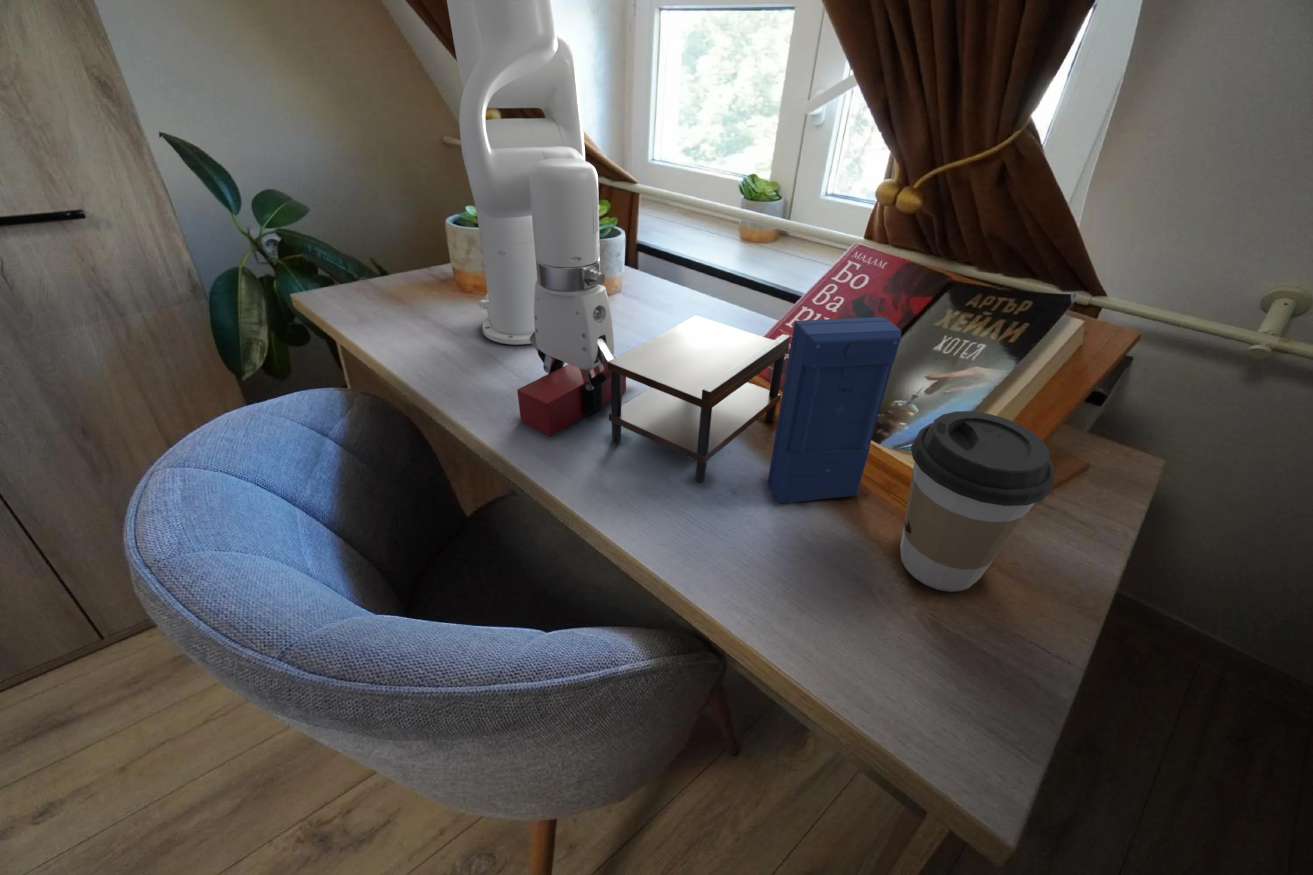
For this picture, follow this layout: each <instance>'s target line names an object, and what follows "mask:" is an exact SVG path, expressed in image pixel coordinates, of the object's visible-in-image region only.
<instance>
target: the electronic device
mask: <svg viewBox="0 0 1313 875" xmlns="http://www.w3.org/2000/svg"><path fill="white" fill-rule="evenodd" d="M901 338H902V330H901V329H900V328H898V327H897V326H896V325H895V324H894V323H893V322H891V321H890V320H889V319H888V318H886V317H885V316H874V317H851V318H828V319H827V318H826V319H805V320H804V319H803V320H801V319H800V320H795V321H794V324H793V330H792V336H791V340H790V342H791V343H790V346H789V352H788V353H789V354H788V359H787V366H786V371H785V377H784V383H783V390H782V394H781V399H780V407H779V413H778V418H777V422H776V423H777V425H776V430H775V434H774V435H775V436H774V440H773V441H774V442H773V448H772V454H771V459H770V464H769V471H768V477H767V484H768V487H769V488H770V490H771V492H772V494H773V496H774V498H775V500H776V501H777V502H781V503H794V502H803V501H805V502H807V501H815V500H826V499H828V500H829V499H836V498H838V499H839V498H847V497H848V498H849V497H857V495H858V492H859V490H860V486H861V483H862V482H861V481H862V479H863V475H864V472H865V469H866V464H867V461H868V457H869V454H870V449H871V442H872V440H873V439H872V438H873V436H874V432H875V428H876V425H877V421H878V417H879V414H880V410H881V407H882V404H883V400H884V396H885V393H886V389H887V385H888V382H889V379H890V375H891V371H892V368H893V365H894V364H895V361H896V357H897V354H898V351H899V347H900V343H901Z"/></svg>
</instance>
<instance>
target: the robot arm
mask: <svg viewBox="0 0 1313 875" xmlns="http://www.w3.org/2000/svg"><path fill="white" fill-rule="evenodd" d="M446 4H447V12H448V17H449V22H450V28H451V33H452V40H453V46H454V51H455V57H456V62H457V68H458V74H459V78H460V82H461V86H462V89H463V92H462V95H461V99H460V104H459V113H458V114H459V116H458V121H459V122H458V124H459V126H458V127H459V137H460V143H461V146H460V148H461V154H462V160H463V165H464V168H465V170H466V174H467V178H468V184H469V188H470V191H471V194H472V198H473V202H474V207H475V212H476V218H477V219H476V220H477V226H478V232H479V240H480V247H481V254H482V264H483V271H484V277H485V284H486V291H487V293H486V294H485V296H484V299H481V300H480V301H479V302H478V305H479V307H480V308H482V309H484V310H486V312H487V317H486V319H485V320H484V321H483V323H482V328H481V329H482V333H483V335H484V336H485V337H486V338H487V339H489V340H490V341H493V342H496V343H498V344H504V345H515V346H519V345H521V346H522V345H532V347H533V348H534V349H535V351H536V352H537V355H538V357H539V359H540V360H541V362H542V363H543V368H542V369H543V371H544V372H545V373H547V374H549V373H552V372H554V371H556V370H558V369H560V368H562V367H564V366H565V363H566V364H567V365H568V364H570V365H573V366H575V367H578V368H580V371H581V375H582V378H583V382H584V385H585V388H583V389H582V408H583V415H585V416H586V417H589V416H591V414H594V413H595V412H597V411H598V410H600V409H602V406H603V405H602V384H604V383H605V382H606V381H607V380H608V379H610V378H611V371H610V370H608V362H609V361H610V360H612V359H614V355H615V342H614V341H615V340H614V339H615V338H614V327H613V319H612V318H613V317H612V310H611V305H610V300H609V296H608V292H607V288H606V286H604V285H603V284H604V283H605V280H606V276H605V274H604V273H602V272H601V255H600V254H601V253H600V246H601V245H600V207H599V206H600V203H599V202H600V200H599V177H598V172H597V169H596V168H595V166H594V165H593V164H591V163H590V162H589V161H586V149H585V136H584V130H583V128H584V127H583V119H582V110H581V101H580V90H579V82H578V80H579V79H578V74H577V67H576V62H575V58H574V54H573V51H572V48H571V46H570V44H569V43H568V41H567V40H566V38H565V37H564V36H563V35H562V34H561V33H559V32H558V31H557V30H556V27H555V26H556V25H555V20H554V15H553V14H554V13H553V7H552V3H551V0H446ZM488 109H540V110H541V111H542V112H543V114H544V117H541V118H540V117H537V118H533V117H532V118H523V117H518V118H517V117H515V118H514V117H513V118H490V119H487V118H486V117H487V110H488ZM601 363H602V364H601ZM602 365H603V367H604V370H603V368H602ZM592 369H593V370H594V373H595V376H594V377H593V378H592V376H591V373H590V370H592ZM585 416H584V417H585Z"/></svg>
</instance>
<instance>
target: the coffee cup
mask: <svg viewBox="0 0 1313 875" xmlns="http://www.w3.org/2000/svg"><path fill="white" fill-rule="evenodd" d="M910 450H911V455H912V460H913V462H914V463H913V468H912V473H911V480H910V486H909V490H908V491H909V492H908V498H907V502H906V503H907V504H906V510H905V517H904V522H903V526H902V532H901V539H900V546H899V547H900V548H899V549H900V558H901V564H902V565H903V566H904V569H905V570H906V571H907V572H908V574H910V575H911V576H912V578H914V579H916V580H917V581H918V582H920V583H922V584H923V585H925V586H927V587H930V588H933V589H935V590H938V591H944V592H949V593H951V592H952V593H953V592H962V591H965V590H967V589H970V588H971V587H972V586H974V584H976V583H977V582H978V581H979V580H980V579H981V578H982V576H983V575H984V574H985V572H986V571H987V570H988V568H989V567H990V565H991V564H992V563H993V562H994V560H995V558H996V557H997V556H998V554H999V553H1000V552H1001V550H1002V549H1003V547H1004V546H1005V545H1006V543H1007V542H1008V541H1009V539H1010V538H1011V536H1012V535H1013V534H1014V532H1016V530H1017V528H1018V527H1019V525H1020V524H1021V522H1023V520H1024V518H1025V517H1026V516H1027V515H1028V513H1029V512H1030V510H1031V509H1032V507H1034V505H1035V504H1036V503H1038V502H1042V501H1044V500H1045V499H1046V498H1047V497H1048V496H1049V495H1050V494H1051V493H1052V489H1053V484H1054V483H1055V473H1056V470H1055V468H1054V466H1053V464H1052V462H1051V460H1050V459H1051V452H1050V451H1049V449H1048V447H1047V444H1046V443H1045V442H1044V441H1043V440H1042V439H1041V438H1040V437H1039V436H1038V435H1036V433H1034V432H1033V431H1031V430H1030V429H1028V428H1027V427H1025V426H1023V425H1021V424H1020V423H1017V422H1015V421H1013V420H1011V419H1008V418H1005V417H1003V416H1002V417H1001V416H998V415H994V414H991V413H988V412H979V411H973V410H959V411H958V410H957V411H952V412H948V413H943V414H942V415H941V414H940V415H939V416H938V417H936V418H934V420H933V421H932V422H930V423H929V424H927V425H925V426H923V427H922V428H921V429H920V430H919V431H918V433H917V435H916V437H915V438H914V440H913V442H912V444H911V446H910Z"/></svg>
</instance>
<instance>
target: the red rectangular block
mask: <svg viewBox="0 0 1313 875" xmlns="http://www.w3.org/2000/svg"><path fill="white" fill-rule="evenodd" d="M616 357H617V356H614V358H616ZM601 364H602V363H601ZM563 366H564V367H562V368H560V369H558V370H556V371H554V372H552V373H549V374H548V373H547V374H546V375H544V376H542V377H540V378H537V379H536V380H534V381H531V382H530V383H527V384H526V385H524V386H522V387H519V388H517V400H518V407H519V408H518V409H519V417H520V422H521V423H523V424H525V425H527V426H529V427H531V428H533V429H535V430H536V431H539V432H541V433H543V434H545V435H547V436H548V437H552V436H553V435H555V434H556V433H558V432H560V431H561V430H563V429H565V428H566V427H568V426H570V425H571V424H574V423H575V422H576V421H578V420H580V419H581V418H583V417H585V415H583V408H582V389H583V388H585V385H584V382H583V378H582V375H581V371H580V368H578V367H575V366H573V365H570V364H568V363H567V364H566V365H563ZM602 368H603V370H604V367H603V365H602ZM590 373H591V376H592V378H593V377H594V376H595V373H594V370H593V369H592V370H590ZM626 391H627V377H625V376H622V375H621V395H622V394H623V393H625V392H626ZM608 402H611V378H610V379H608V380H607V381H606V382H605V383H604V384H602V406H603V405H605V404H607V403H608Z"/></svg>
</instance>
